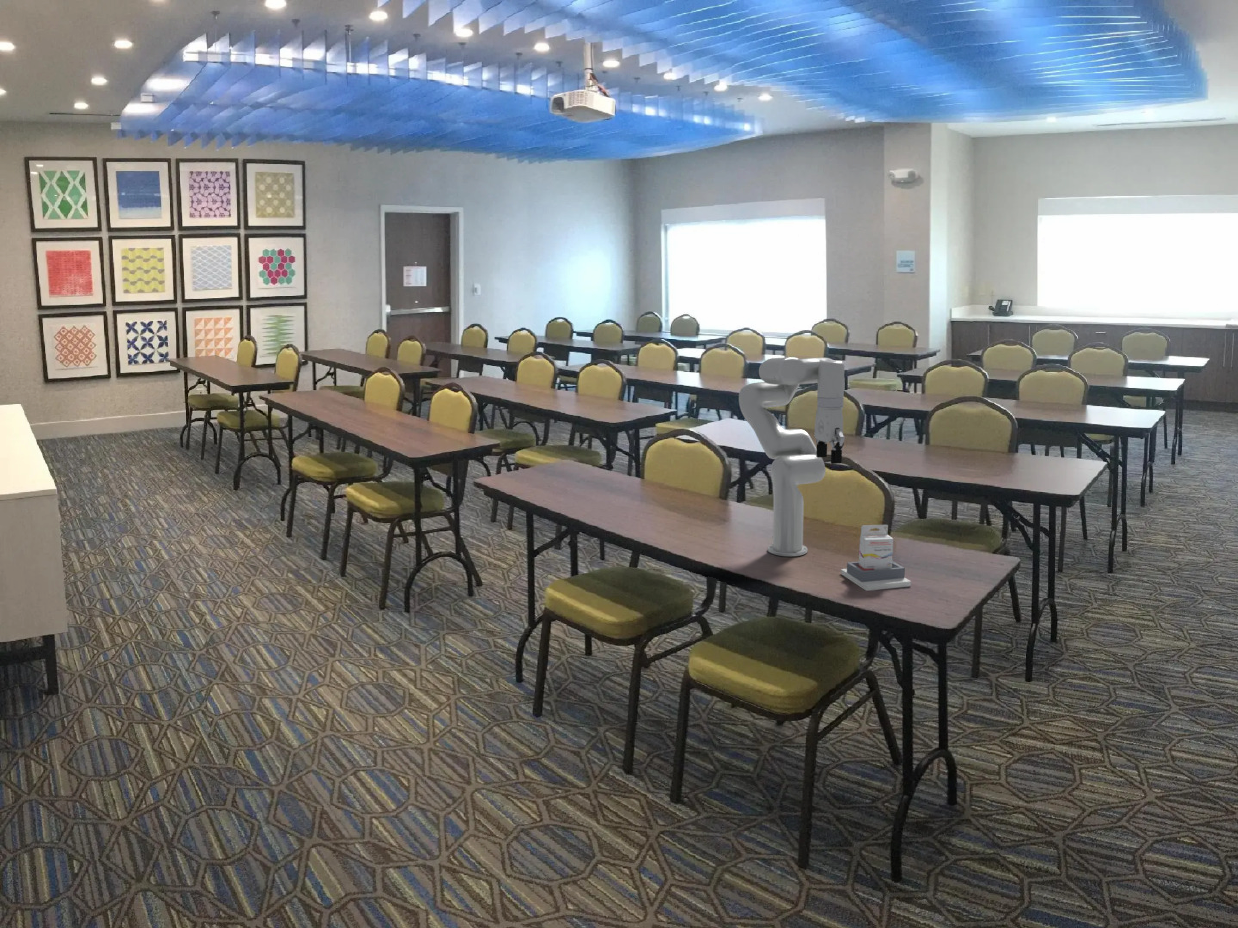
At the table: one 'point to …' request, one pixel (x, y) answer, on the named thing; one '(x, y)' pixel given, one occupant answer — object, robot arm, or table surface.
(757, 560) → the table surface
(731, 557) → the table surface
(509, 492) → the table surface
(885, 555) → the ink cartridge box
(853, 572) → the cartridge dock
